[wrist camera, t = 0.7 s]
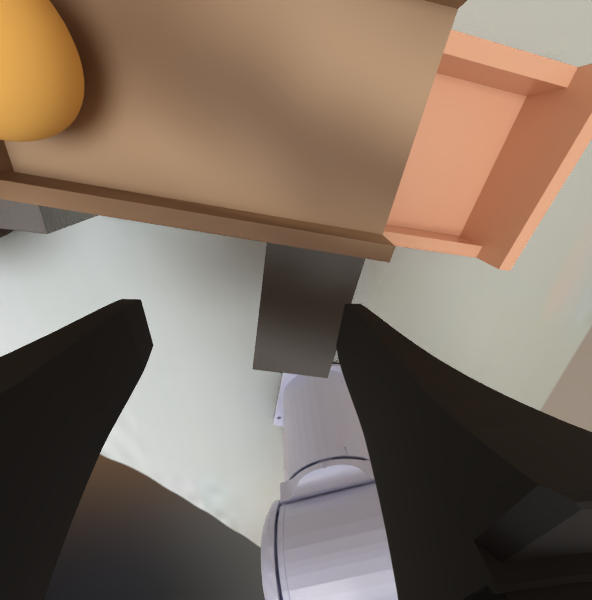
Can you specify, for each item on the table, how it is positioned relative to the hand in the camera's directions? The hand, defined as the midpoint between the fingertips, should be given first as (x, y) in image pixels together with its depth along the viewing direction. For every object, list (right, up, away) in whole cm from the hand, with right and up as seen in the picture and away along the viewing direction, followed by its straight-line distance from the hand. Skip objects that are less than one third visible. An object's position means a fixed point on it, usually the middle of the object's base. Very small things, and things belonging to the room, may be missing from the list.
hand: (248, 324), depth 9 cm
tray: (+11, +10, +8) cm, 16 cm away
